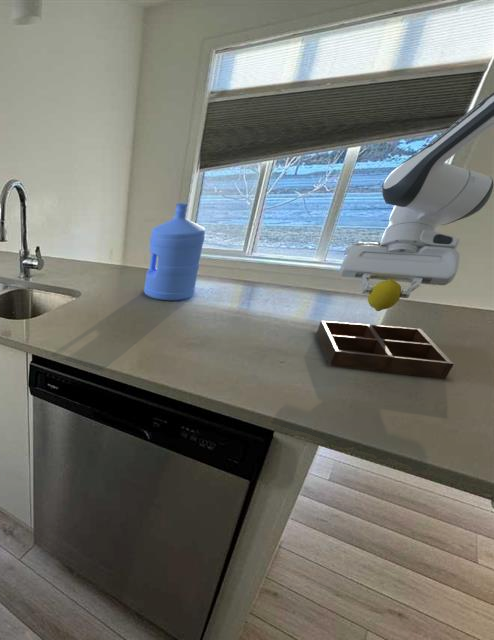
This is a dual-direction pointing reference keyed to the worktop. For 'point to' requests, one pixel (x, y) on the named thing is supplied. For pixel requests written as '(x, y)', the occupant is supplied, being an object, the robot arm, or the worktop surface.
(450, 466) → the worktop surface
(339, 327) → the grid
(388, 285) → the lemon
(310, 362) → the worktop surface
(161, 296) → the water jug
